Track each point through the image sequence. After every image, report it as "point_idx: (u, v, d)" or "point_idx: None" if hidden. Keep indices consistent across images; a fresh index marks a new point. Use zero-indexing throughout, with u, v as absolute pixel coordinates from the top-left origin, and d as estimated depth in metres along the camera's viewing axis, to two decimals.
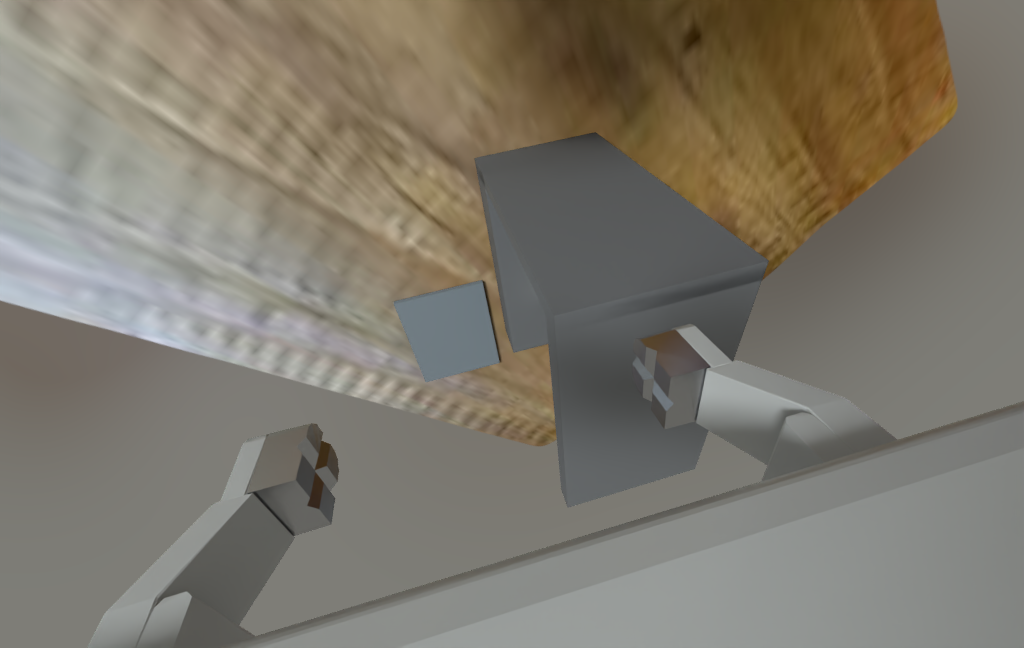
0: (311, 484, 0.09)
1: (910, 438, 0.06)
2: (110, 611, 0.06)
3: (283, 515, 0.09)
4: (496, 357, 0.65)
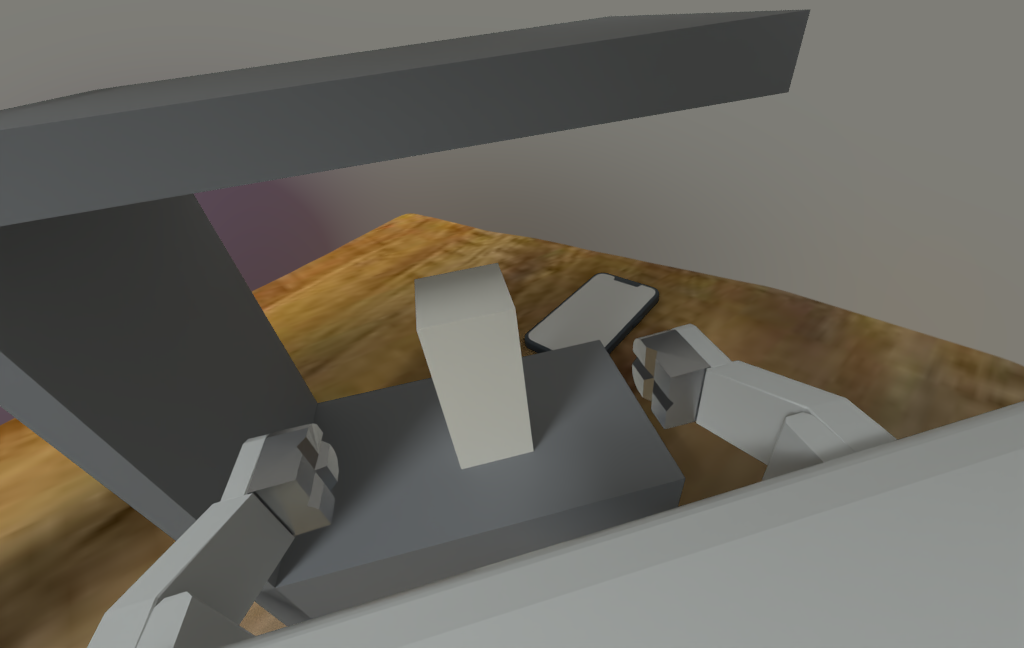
0: (311, 484, 0.09)
1: (910, 438, 0.06)
2: (110, 611, 0.06)
3: (283, 515, 0.09)
4: None
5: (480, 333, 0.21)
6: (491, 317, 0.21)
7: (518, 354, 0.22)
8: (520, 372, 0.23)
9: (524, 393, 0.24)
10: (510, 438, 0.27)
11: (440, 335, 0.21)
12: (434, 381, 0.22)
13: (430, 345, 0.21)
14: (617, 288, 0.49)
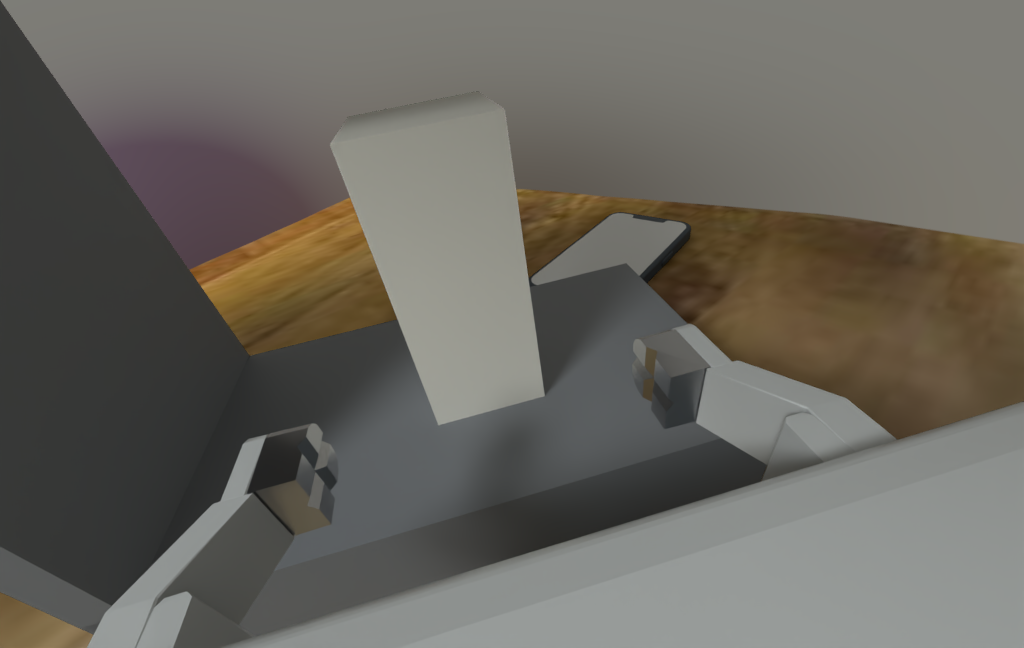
0: (311, 484, 0.09)
1: (910, 438, 0.06)
2: (110, 611, 0.06)
3: (283, 515, 0.09)
4: None
5: (446, 160, 0.12)
6: (463, 126, 0.12)
7: (514, 211, 0.14)
8: (519, 249, 0.14)
9: (527, 291, 0.15)
10: (508, 373, 0.18)
11: (375, 159, 0.12)
12: (377, 260, 0.13)
13: (359, 182, 0.12)
14: (638, 225, 0.40)
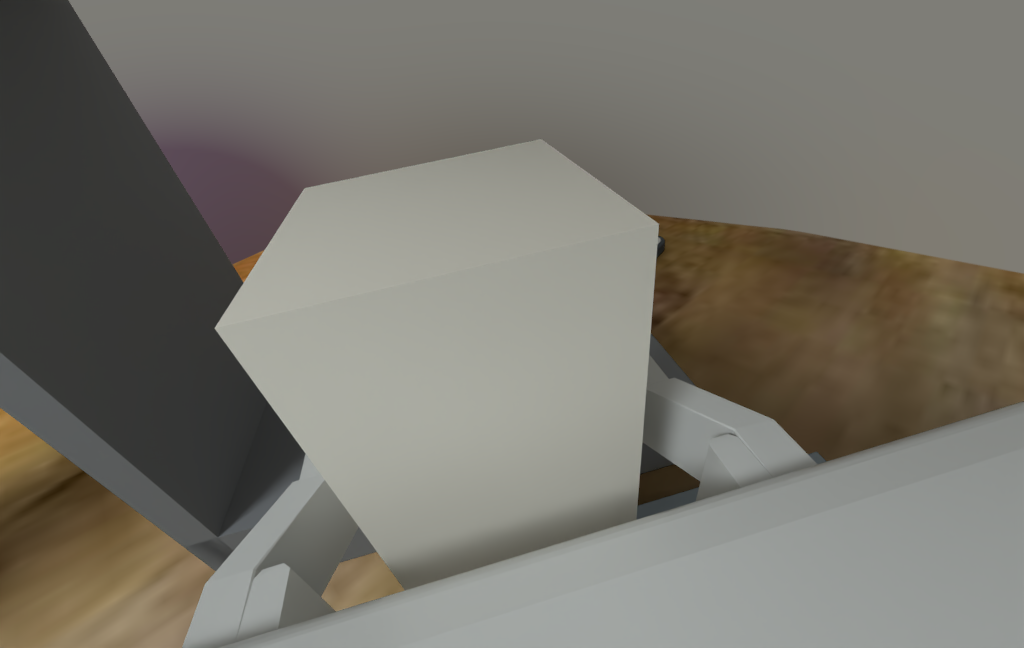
0: None
1: (910, 438, 0.06)
2: (209, 582, 0.07)
3: None
4: None
5: (508, 335, 0.05)
6: (555, 267, 0.05)
7: (636, 405, 0.07)
8: (632, 456, 0.07)
9: (632, 507, 0.08)
10: None
11: (339, 348, 0.05)
12: (351, 508, 0.06)
13: (301, 393, 0.05)
14: None
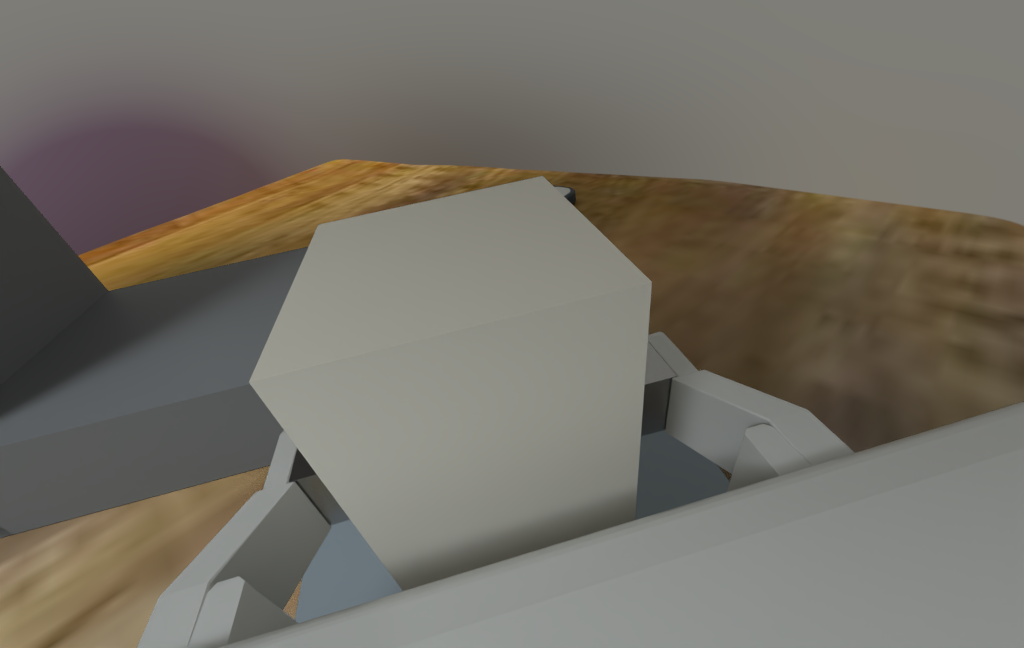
0: None
1: (910, 438, 0.06)
2: (163, 595, 0.06)
3: (322, 504, 0.09)
4: None
5: (514, 379, 0.06)
6: (558, 320, 0.05)
7: (632, 436, 0.07)
8: (629, 481, 0.08)
9: None
10: None
11: (360, 396, 0.05)
12: (366, 533, 0.07)
13: (324, 435, 0.05)
14: None
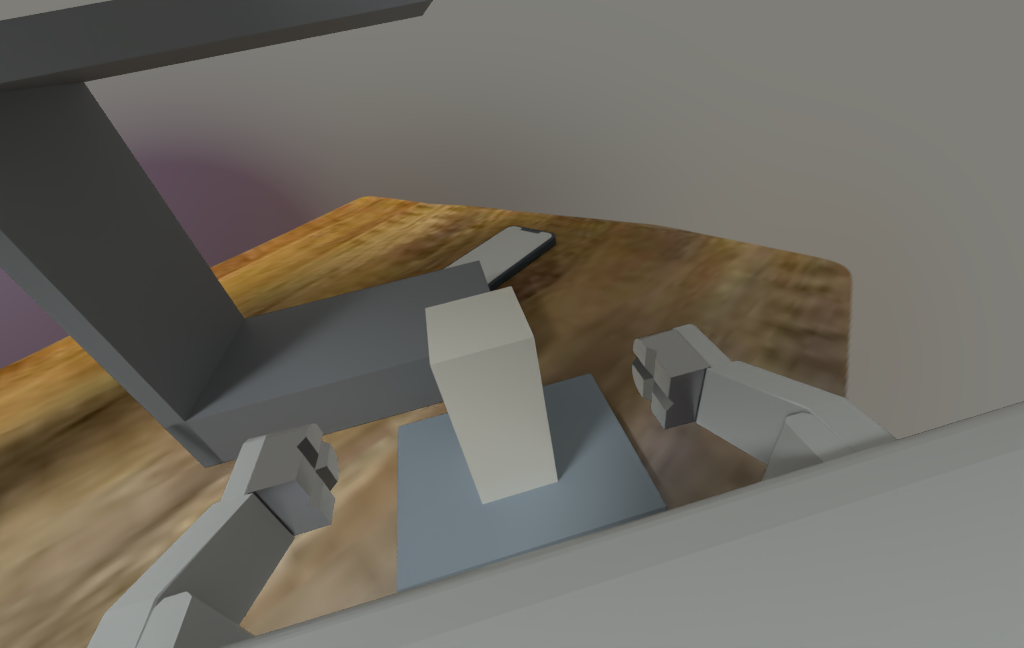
0: (311, 484, 0.09)
1: (910, 438, 0.06)
2: (110, 611, 0.06)
3: (283, 515, 0.09)
4: (576, 379, 0.33)
5: (497, 364, 0.20)
6: (508, 347, 0.19)
7: (538, 383, 0.21)
8: (541, 402, 0.22)
9: (546, 423, 0.23)
10: (532, 470, 0.25)
11: (455, 368, 0.19)
12: (450, 416, 0.21)
13: (444, 379, 0.20)
14: (521, 235, 0.56)
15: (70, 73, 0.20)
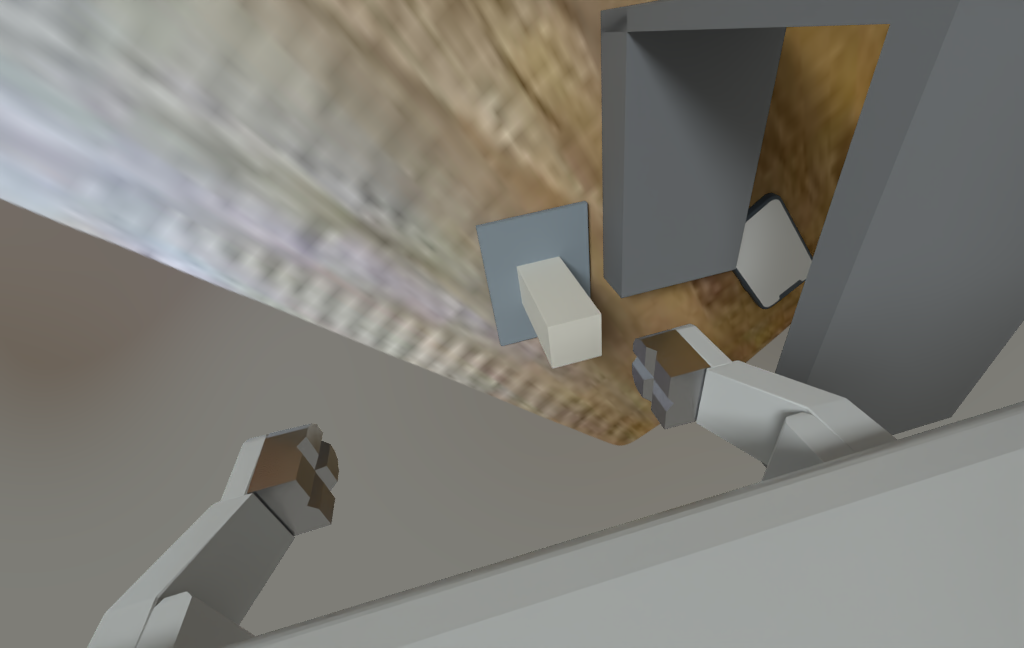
0: (311, 484, 0.09)
1: (910, 438, 0.06)
2: (109, 612, 0.06)
3: (283, 515, 0.09)
4: None
5: (547, 346, 0.39)
6: (550, 357, 0.38)
7: (543, 348, 0.41)
8: (539, 339, 0.42)
9: (535, 330, 0.44)
10: (524, 302, 0.46)
11: (546, 332, 0.37)
12: (536, 306, 0.39)
13: (544, 323, 0.37)
14: (787, 280, 0.55)
15: None
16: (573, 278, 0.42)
